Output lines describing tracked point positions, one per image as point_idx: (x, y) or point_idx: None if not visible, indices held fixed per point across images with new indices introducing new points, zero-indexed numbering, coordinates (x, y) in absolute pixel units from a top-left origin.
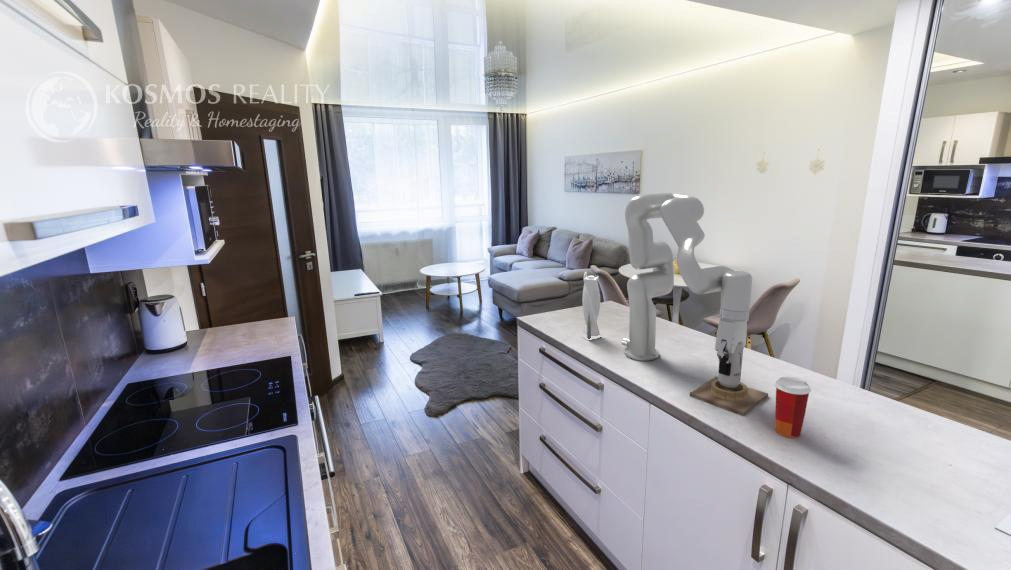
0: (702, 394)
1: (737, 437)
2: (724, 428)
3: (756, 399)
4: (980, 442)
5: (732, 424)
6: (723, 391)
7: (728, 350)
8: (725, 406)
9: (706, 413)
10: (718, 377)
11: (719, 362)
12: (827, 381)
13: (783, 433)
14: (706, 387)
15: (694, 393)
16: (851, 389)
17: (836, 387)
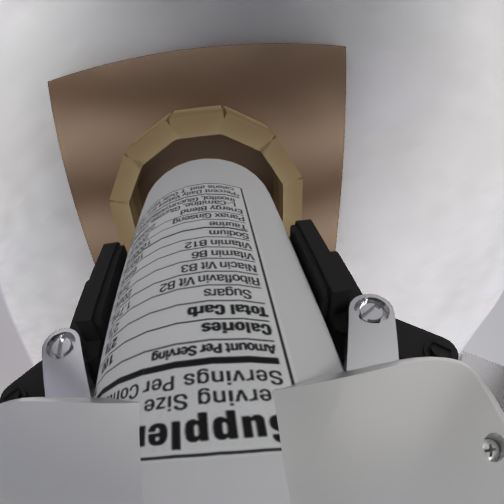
0: (83, 126)
1: (22, 336)
2: (15, 303)
3: None
4: None
5: (46, 305)
6: (119, 233)
7: None
8: (91, 249)
9: (14, 225)
10: (154, 189)
11: (81, 307)
12: (490, 299)
13: None
14: (171, 83)
15: (59, 99)
16: (466, 337)
17: (467, 322)
